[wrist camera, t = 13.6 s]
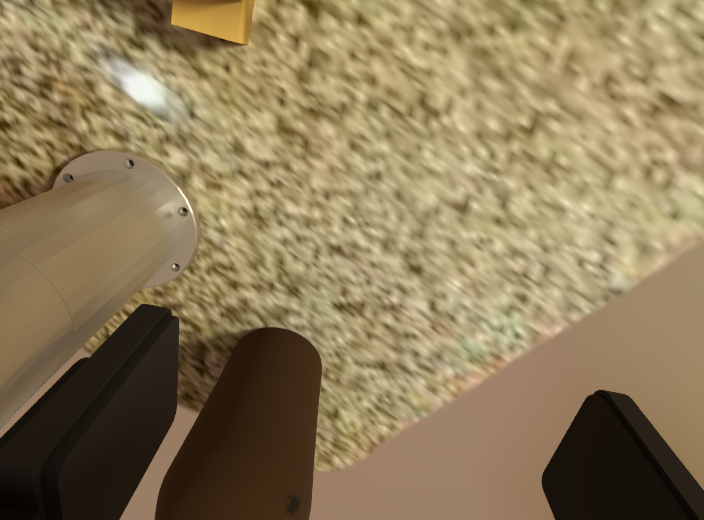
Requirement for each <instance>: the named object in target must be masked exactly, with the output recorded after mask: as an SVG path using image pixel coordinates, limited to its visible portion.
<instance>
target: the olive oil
mask: <svg viewBox="0 0 704 520" xmlns="http://www.w3.org/2000/svg"><path fill="white" fill-rule="evenodd" d="M321 375H322V364H321V359H320V356H319V354H318V352H317V350H316V349H315V347H314V346H313V345H312V344H311V343H310V342H309V341H308V340H307V339H305V338H304V337H302V336H301V335H299V334H297V333H295V332H292V331H289V330H286V329H280V328H265V329H260V330H256V331H254V332H251V333H249V334H248V335H246V336H245V337H244V338H242V339H241V340H240V341H239V343H238V344H237V345H236V347H235V348H234V350H233V352H232V354H231V356H230V358H229V360H228V362H227V364H226V366H225V368H224V370H223V372H222V373H221V375H220V377H219V379H218V381H217V383H216V385H215V387H214V388H213V390H212V392H211V394H210V396H209V398H208V399H207V401H206V403H205V405H204V407H203V408H202V410H201V412H200V414H199V416H198V418H197V419H196V421H195V423H194V425H193V427H192V429H191V430H190V432H189V434H188V435H187V437H186V439H185V441H184V443H183V444H182V446H181V448H180V450H179V452H178V453H177V455H176V457H175V458H174V460H173V462H172V464H171V465H170V467H169V469H168V471H167V473H166V475H165V477H164V479H163V482H162V485H161V488H160V491H159V495H158V500H157V506H156V512H155V520H309V516H310V510H311V501H312V485H313V471H314V456H315V442H316V429H317V416H318V404H319V395H320V385H321Z"/></svg>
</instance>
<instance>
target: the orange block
mask: <svg viewBox="0 0 704 520" xmlns="http://www.w3.org/2000/svg"><path fill="white" fill-rule="evenodd" d="M253 6H254V0H173V6H172V20H171V24H173V25H177V26H180V27H184V28H187V29H191V30H194V31H198V32H201V33H205V34H208V35H211V36H215V37H218V38H222V39H225V40H229V41H232V42H236V43H241V44H246V45H248V42H249V35H250V28H251V21H252V13H253Z"/></svg>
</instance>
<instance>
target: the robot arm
mask: <svg viewBox="0 0 704 520" xmlns="http://www.w3.org/2000/svg"><path fill="white" fill-rule="evenodd" d="M132 161H133V162H134V164H133V163H132ZM184 208H186V209H187V210H188V211H186V210H185V209H184ZM199 243H200V223H199V216H198V213H197V210H196V208H195V205H194V202H193V201H192V199H191V197H190V195H189V193H188V192H187V190H186V189H185V188H184V186H183V185H182V184H181V183H180V181H179V180H178V179H177V178H176V177H175V176H174V175H173V174H172V173H170V172H169V171H168V170H167V169H166V168H165V167H163V166H162V165H160V164H158V163H157V162H155V161H154V160H152V159H150V158H148V157H145V156H143V155H141V154H139V153H135V152H131V151H127V150H119V149H105V150H98V151H94V152H91V153H87V154H84V155H82V156H80V157H78V158H76V159H74V160H72V161H71V162H70V163H69V164H67V165H66V166H65V167H64V168H63V169H62V170H61V172H60V173H59V175H58V176H57V178H56V180H55V182H54V185H53V188H52V190H50V191H47V192H45V193H42V194H39V195H37V196H34V197H32V198H29V199H27V200H24V201H22V202H19V203H16V204H14V205H11V206H9V207H6V208H4V209H1V210H0V430H1V429H2V428H3V427H4V425H5V424H6V423H7V422H8V421H9V420H10V419H11V418H12V417H13V415H14V414H15V413H16V412H17V411H18V410H19V409H20V408H21V407H22V406H23V405H24V404H25V403H26V402H27V401H28V400H29V399H30V398H31V397H32V396H33V395H34V394H35V392H36V391H38V390H39V389H40V388H41V386H42V385H43V384H45V383H46V381H47V380H48V379H50V378H51V377H52V376H53V375H54V374H55V373H56V371H58V370H59V369H60V368H61V367H62V366H63V365H64V364H65V363H66V362H67V361H68V360H69V359H70V358H71V357H72V356H73V355H74V354H75V353H76V352H77V351H78V350H79V349H80V348H81V347H82V346H83V345H84V344H85V343H86V342H87V341H88V340H89V339H90V338H91V337H92V336H94V335H95V334H96V333H97V332H98V331H99V330H100V329H101V328H102V327H103V326H104V325H105V324H106V323H107V322H108V321H109V320H110V319H111V318H112V317H113V316H114V315H115V314H116V313H117V312H118V311H119V310H120V309H121V308H122V307H123V306H124V305H125V304H126V303H127V302H128V301H129V300H130V299H131V298H132V297H133V296H134V295H135V294H136V293H137V292H138V291H139V290H140V289H141V288H151V287H156V286H160V285H163V284H166V283H168V282H170V281H172V280H173V279H175V278H177V277H178V276H179V275H180V274H181V273H182V272H184V271H185V269H186V268H187V267H188V266H189V265H190V263H191V262H192V260H193V259H194V257H195V255H196V253H197V250H198V246H199ZM178 347H179V318H178V317H176V316H172V312H171V309H169V308H165V307H159V306H154V305H149V304H141V305H140V306H139V307H138V308H137V309H136V310H135V311H134V312H133V313H132V314H131V315H130V316H129V317H128V318H127V319H126V320H125V321H124V322H123V323H122V324H121V325H120V326H119V327H118V328H117V329H116V331H115V332H114V333H113V334H112V335H111V336H110V337H109V338H108V339H107V340H106V341H105V342H104V343H103V344H102V345H101V346H100V347H99V348H98V349H97V350H96V351H95V352H94V353H93V354H92V356H91V357H90V358H88V357H85V358H82V359H80V360H79V361H77V362H76V363H75V364H74V365H73V366H72V367H71V368H70V369H69V370H68V371H67V372H66V373H65V374H64V375H63V376H62V377H61V378H60V379H59V380H58V381H57V382H56V383H55V384H54V385H53V386H52V387H51V388H50V389H49V390H48V391H47V392H46V393H45V394H44V395H43V396H42V397H41V398H40V399H39V400H38V401H37V402H36V403H35V404H34V405H33V406H32V407H31V408H30V409H29V410H28V411H27V412H26V413H25V414H24V415H23V416H22V417H21V418H20V419H19V420H18V421H17V422H16V423H15V424H14V425H13V426H12V427H11V428H10V429H9V430H8V431H7V432H6V433H5V434H4V435H3V436H2V437H1V438H0V520H119V519H120V517H121V515H122V514H123V512H124V510H125V508H126V506H127V505H128V503H129V501H130V499H131V497H132V496H133V494H134V492H135V490H136V488H137V487H138V485H139V483H140V481H141V479H142V478H143V476H144V474H145V472H146V470H147V468H148V467H149V465H150V463H151V461H152V459H153V458H154V456H155V454H156V452H157V450H158V449H159V447H160V445H161V443H162V441H163V439H164V437H165V436H166V434H167V432H168V430H169V429H170V427H171V425H172V423H173V420H174V417H175V414H176V409H177V382H178ZM542 487H543V490H544V493H545V496H546V498H547V500H548V503H549V505H550V508H551V510H552V513H553V515H554V518H555V520H704V490H703V489H702V488H701V486H700V485H699V484H698V483H697V481H696V480H695V479H694V478H693V476H692V475H691V474H690V472H689V471H688V470H687V469H686V468H685V466H684V465H683V463H682V462H681V461H680V460H679V458H678V457H677V456H676V455H675V453H674V452H673V451H672V449H671V448H670V447H669V446H668V444H667V443H666V442H665V441H664V439H663V438H662V437H661V436H660V434H659V433H658V432H657V430H656V429H655V428H654V427H653V425H652V424H651V423H650V421H649V420H648V419H647V418H646V416H645V415H644V414H643V413H642V411H641V410H640V409H639V407H638V406H637V405H636V404H635V402H634V401H633V400H632V399H631V398H630V397H629V396H628V395H625V394H621V393H616V392H610V391H605V390H598V391H596V392H595V393H594V394H593V395H589V396H588V397H587V398H586V399H585V401H584V402H583V404H582V406H581V408H580V409H579V411H578V413H577V415H576V416H575V418H574V420H573V422H572V423H571V425H570V427H569V429H568V430H567V432H566V434H565V436H564V437H563V439H562V441H561V443H560V444H559V446H558V448H557V450H556V451H555V453H554V455H553V457H552V458H551V460H550V462H549V464H548V465H547V467H546V469H545V470H544V472H543V475H542Z"/></svg>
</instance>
